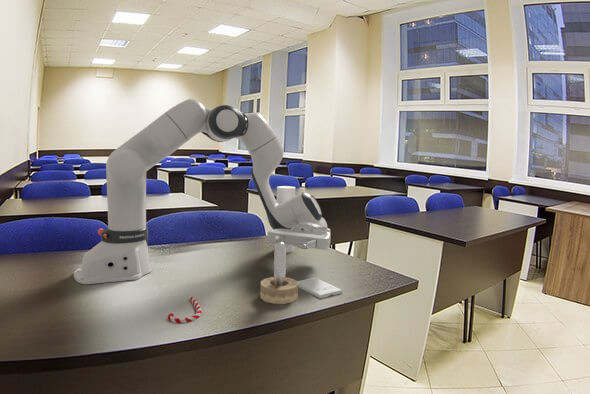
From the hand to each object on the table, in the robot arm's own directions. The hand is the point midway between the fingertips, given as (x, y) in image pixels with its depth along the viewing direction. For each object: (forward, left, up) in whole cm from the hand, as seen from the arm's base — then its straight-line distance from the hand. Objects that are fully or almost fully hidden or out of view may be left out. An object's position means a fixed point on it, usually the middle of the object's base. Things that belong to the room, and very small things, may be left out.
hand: (291, 244), depth 126 cm
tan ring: (-9, -8, -12) cm, 17 cm away
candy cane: (-34, -4, -13) cm, 37 cm away
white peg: (-9, -8, -12) cm, 17 cm away
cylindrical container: (+19, +32, -12) cm, 39 cm away
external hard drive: (+4, -9, -13) cm, 16 cm away
